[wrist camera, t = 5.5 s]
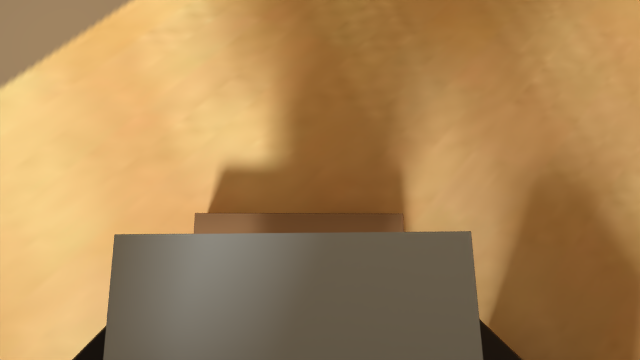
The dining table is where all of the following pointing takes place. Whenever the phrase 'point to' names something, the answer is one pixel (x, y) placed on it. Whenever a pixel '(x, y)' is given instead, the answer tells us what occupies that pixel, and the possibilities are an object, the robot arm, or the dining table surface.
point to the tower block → (293, 297)
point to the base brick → (295, 223)
